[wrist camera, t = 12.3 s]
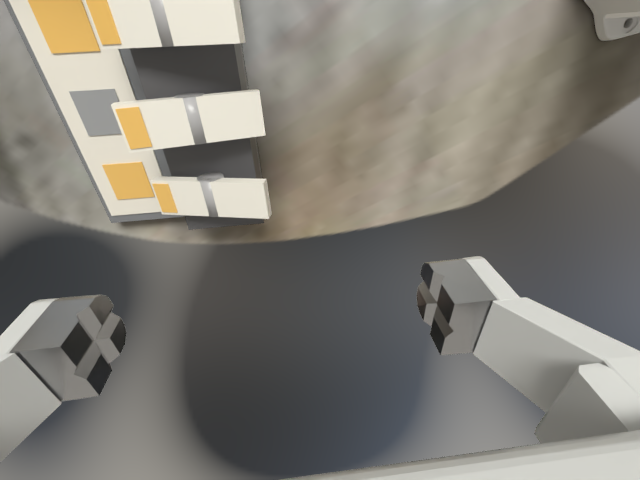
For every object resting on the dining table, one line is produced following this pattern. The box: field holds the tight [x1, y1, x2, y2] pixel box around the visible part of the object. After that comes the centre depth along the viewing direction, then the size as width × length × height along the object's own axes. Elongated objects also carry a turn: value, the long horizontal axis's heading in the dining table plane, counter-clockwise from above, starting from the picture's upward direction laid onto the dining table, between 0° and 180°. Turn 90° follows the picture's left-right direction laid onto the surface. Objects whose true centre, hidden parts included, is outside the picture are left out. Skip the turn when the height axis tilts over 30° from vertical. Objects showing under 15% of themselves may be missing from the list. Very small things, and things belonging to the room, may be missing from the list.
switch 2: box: [111, 89, 266, 153], centre depth 26 cm, size 11×4×2 cm, turn 93°
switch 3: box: [150, 172, 272, 219], centre depth 30 cm, size 11×4×2 cm, turn 92°
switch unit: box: [4, 0, 264, 230], centre depth 29 cm, size 18×24×6 cm
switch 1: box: [84, 0, 246, 49], centre depth 22 cm, size 11×4×2 cm, turn 92°
